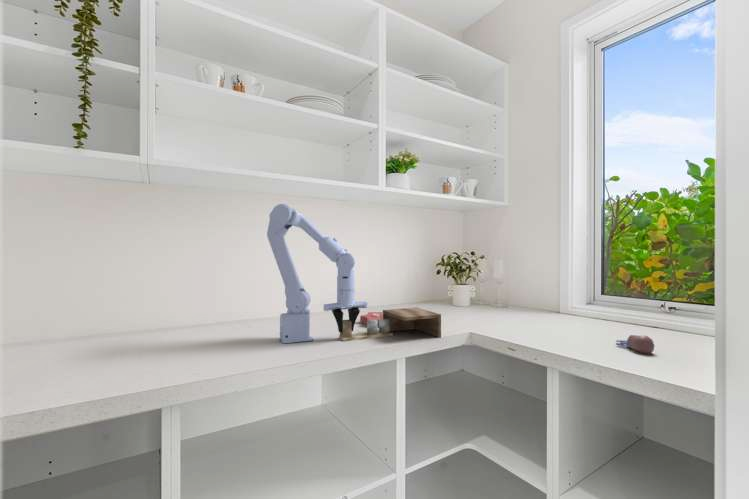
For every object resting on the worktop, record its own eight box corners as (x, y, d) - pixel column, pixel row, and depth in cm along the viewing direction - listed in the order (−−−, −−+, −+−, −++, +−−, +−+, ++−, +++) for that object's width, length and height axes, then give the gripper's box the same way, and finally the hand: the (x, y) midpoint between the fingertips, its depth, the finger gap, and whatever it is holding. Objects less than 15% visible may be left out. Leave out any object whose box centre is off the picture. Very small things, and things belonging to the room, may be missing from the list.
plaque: (361, 310, 146) (395, 310, 146) (361, 319, 146) (395, 319, 146) (359, 318, 128) (398, 318, 128) (359, 328, 128) (398, 328, 128)
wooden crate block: (404, 341, 107) (404, 317, 107) (382, 331, 122) (382, 309, 122) (441, 337, 113) (441, 314, 113) (416, 327, 128) (416, 307, 128)
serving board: (343, 341, 108) (343, 322, 108) (338, 337, 113) (338, 319, 113) (392, 335, 115) (392, 318, 115) (386, 332, 120) (386, 315, 120)
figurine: (610, 350, 104) (642, 355, 92) (608, 333, 105) (639, 336, 93) (627, 350, 104) (661, 355, 93) (625, 333, 105) (658, 336, 93)
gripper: (327, 292, 105) (327, 336, 104) (370, 290, 110) (370, 331, 110) (321, 289, 111) (321, 331, 111) (362, 288, 117) (362, 327, 117)
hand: (345, 331), depth 111 cm, fingers closed on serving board, 3 cm apart
